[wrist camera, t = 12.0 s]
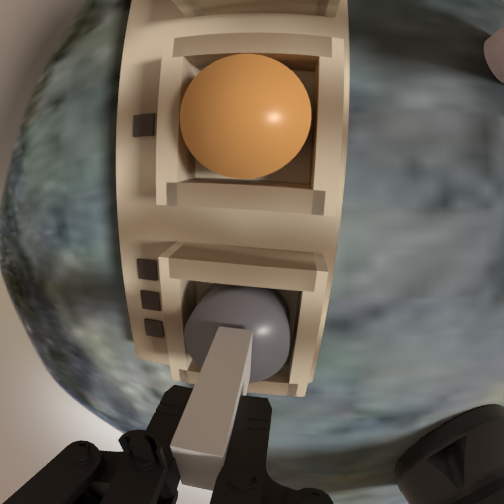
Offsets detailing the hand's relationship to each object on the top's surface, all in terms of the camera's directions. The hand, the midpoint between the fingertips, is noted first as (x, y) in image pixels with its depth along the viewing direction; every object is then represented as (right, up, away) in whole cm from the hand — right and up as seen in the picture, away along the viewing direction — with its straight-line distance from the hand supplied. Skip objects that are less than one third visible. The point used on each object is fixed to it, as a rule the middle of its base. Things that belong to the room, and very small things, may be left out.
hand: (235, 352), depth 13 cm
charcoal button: (0, +1, +3) cm, 3 cm away
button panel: (0, +11, +2) cm, 12 cm away
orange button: (+1, +10, -1) cm, 10 cm away
